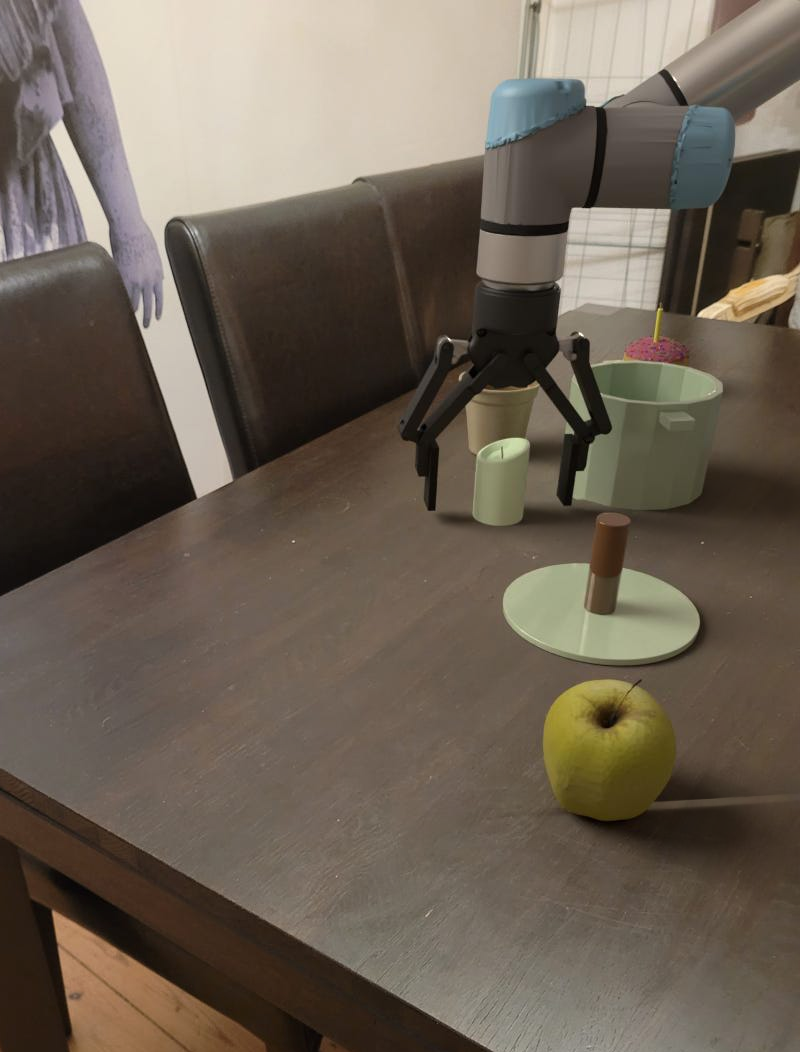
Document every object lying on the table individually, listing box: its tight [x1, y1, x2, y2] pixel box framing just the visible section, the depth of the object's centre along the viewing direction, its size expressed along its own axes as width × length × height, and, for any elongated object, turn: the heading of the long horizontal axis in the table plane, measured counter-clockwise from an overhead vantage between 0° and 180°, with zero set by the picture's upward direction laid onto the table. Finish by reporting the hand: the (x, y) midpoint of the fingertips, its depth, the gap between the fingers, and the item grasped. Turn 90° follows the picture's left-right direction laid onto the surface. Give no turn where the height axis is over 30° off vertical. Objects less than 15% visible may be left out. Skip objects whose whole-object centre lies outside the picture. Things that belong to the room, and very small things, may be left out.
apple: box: [542, 678, 677, 822], centre depth 58 cm, size 8×8×10 cm
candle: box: [472, 438, 531, 527], centre depth 94 cm, size 5×5×8 cm
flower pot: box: [458, 370, 541, 456], centre depth 111 cm, size 9×9×9 cm
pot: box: [564, 359, 724, 511], centre depth 100 cm, size 15×20×12 cm
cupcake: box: [622, 302, 691, 367], centre depth 128 cm, size 9×8×12 cm
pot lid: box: [501, 512, 701, 667], centre depth 77 cm, size 16×16×9 cm
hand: (496, 503), depth 96 cm, fingers open, 13 cm apart
